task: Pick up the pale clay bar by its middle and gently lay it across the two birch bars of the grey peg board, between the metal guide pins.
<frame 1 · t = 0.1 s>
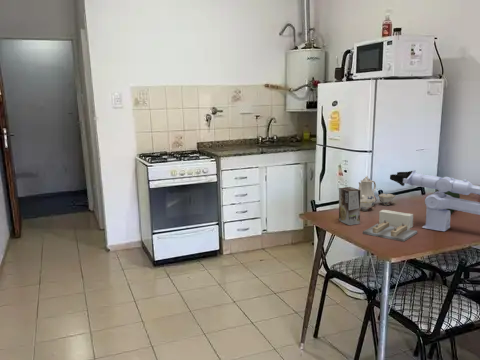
hand: (393, 175, 200), 22 cm above the table, tool horizontal, fingers open, 7 cm apart
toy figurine: (446, 211, 217), on the table
grey peg board: (389, 233, 186), on the table
coffee box: (349, 222, 204), on the table
clay bar: (395, 225, 197), on the table
chinaware: (370, 206, 233), on the table
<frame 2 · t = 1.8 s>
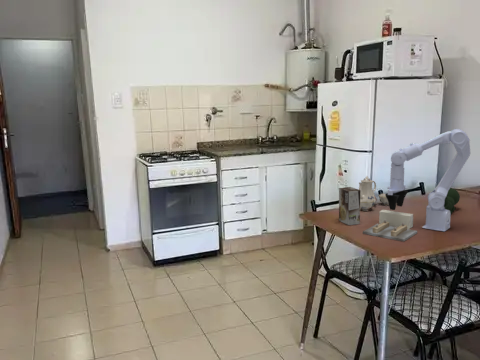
hand: (396, 207, 196), 8 cm above the table, tool pointing down, fingers open, 7 cm apart
nothing on the table moved.
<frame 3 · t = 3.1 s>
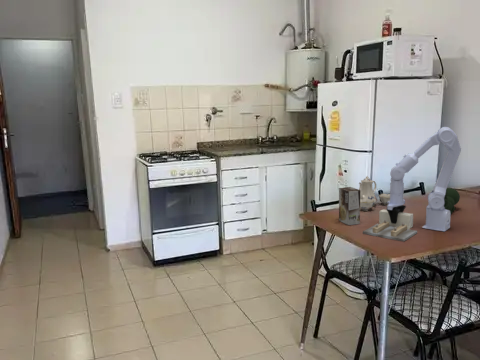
hand: (395, 222, 197), 1 cm above the table, tool pointing down, fingers closed on clay bar, 4 cm apart
clay bar: (395, 225, 197), on the table, touching gripper
everything else where it was.
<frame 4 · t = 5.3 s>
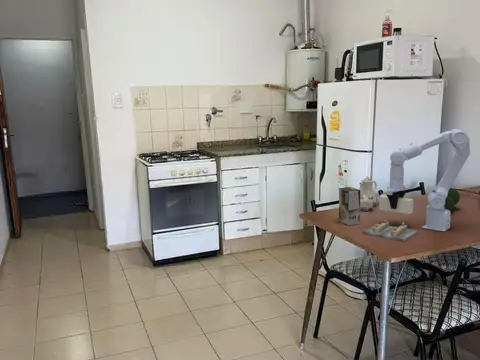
hand: (395, 207, 195), 8 cm above the table, tool pointing down, fingers closed on clay bar, 4 cm apart
clay bar: (395, 210, 195), point 7 cm above the table, touching gripper
everything else where it was.
when the fingers open (5 cm above the table, at t = 7.8 s): clay bar stays where it is, resting on grey peg board.
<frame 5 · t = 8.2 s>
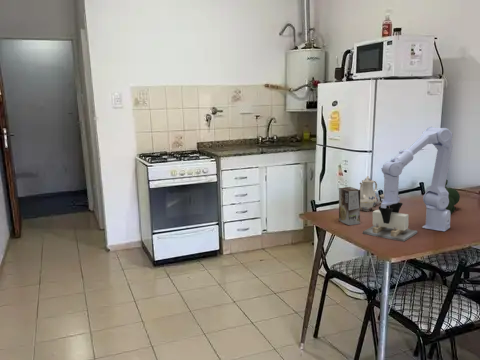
hand: (390, 221, 185), 5 cm above the table, tool pointing down, fingers open, 7 cm apart
clay bar: (389, 226, 185), point 3 cm above the table, touching grey peg board
everything else where it was.
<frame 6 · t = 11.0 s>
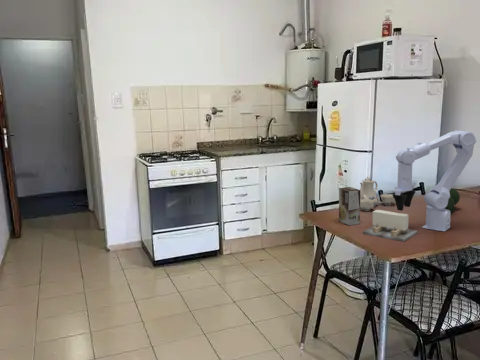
hand: (403, 208, 189), 9 cm above the table, tool pointing down, fingers open, 7 cm apart
at the end: clay bar 0.0 cm off-centre on the grey peg board, point 3.0 cm above the grey peg board's base; clay bar tilted 0°; the gripper is holding nothing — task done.
